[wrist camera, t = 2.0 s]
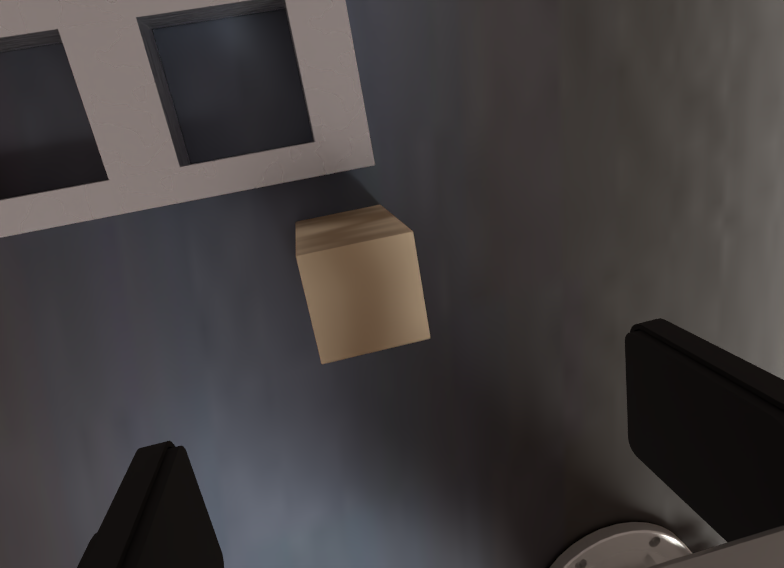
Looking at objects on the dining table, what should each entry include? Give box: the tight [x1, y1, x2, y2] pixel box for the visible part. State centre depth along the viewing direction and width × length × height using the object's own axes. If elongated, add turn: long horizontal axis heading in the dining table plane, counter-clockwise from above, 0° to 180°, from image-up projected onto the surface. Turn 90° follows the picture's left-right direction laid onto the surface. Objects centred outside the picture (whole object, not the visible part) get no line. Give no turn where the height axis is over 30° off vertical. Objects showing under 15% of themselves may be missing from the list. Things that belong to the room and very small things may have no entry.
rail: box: [0, 0, 375, 238], centre depth 23 cm, size 20×9×2 cm, turn 100°
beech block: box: [295, 205, 430, 364], centre depth 24 cm, size 4×4×8 cm
